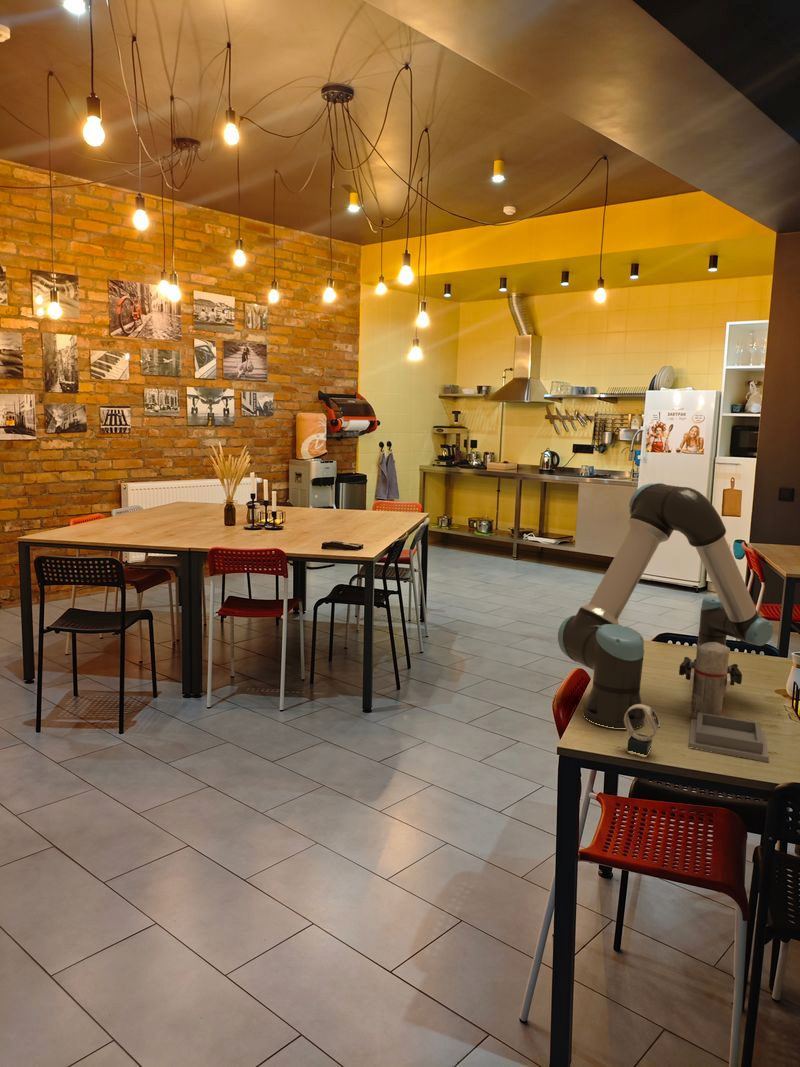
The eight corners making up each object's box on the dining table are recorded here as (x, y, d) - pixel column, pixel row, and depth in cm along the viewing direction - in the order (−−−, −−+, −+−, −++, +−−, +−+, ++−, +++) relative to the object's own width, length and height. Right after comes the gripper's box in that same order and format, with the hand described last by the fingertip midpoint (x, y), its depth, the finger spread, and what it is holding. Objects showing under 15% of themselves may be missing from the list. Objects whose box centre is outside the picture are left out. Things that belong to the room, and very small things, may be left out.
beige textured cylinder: (717, 727, 198) (727, 651, 195) (684, 718, 203) (693, 643, 199) (726, 718, 204) (736, 644, 201) (694, 709, 209) (703, 637, 206)
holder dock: (688, 748, 184) (690, 733, 183) (691, 723, 200) (692, 709, 199) (768, 762, 178) (770, 746, 177) (764, 735, 193) (765, 721, 193)
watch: (655, 760, 177) (659, 713, 175) (619, 751, 180) (623, 706, 179) (659, 751, 182) (664, 705, 180) (624, 743, 185) (628, 698, 184)
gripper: (749, 678, 215) (753, 704, 194) (670, 666, 223) (665, 690, 202) (752, 651, 214) (756, 675, 193) (672, 640, 222) (667, 662, 201)
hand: (709, 683), depth 197 cm, fingers closed on beige textured cylinder, 8 cm apart
